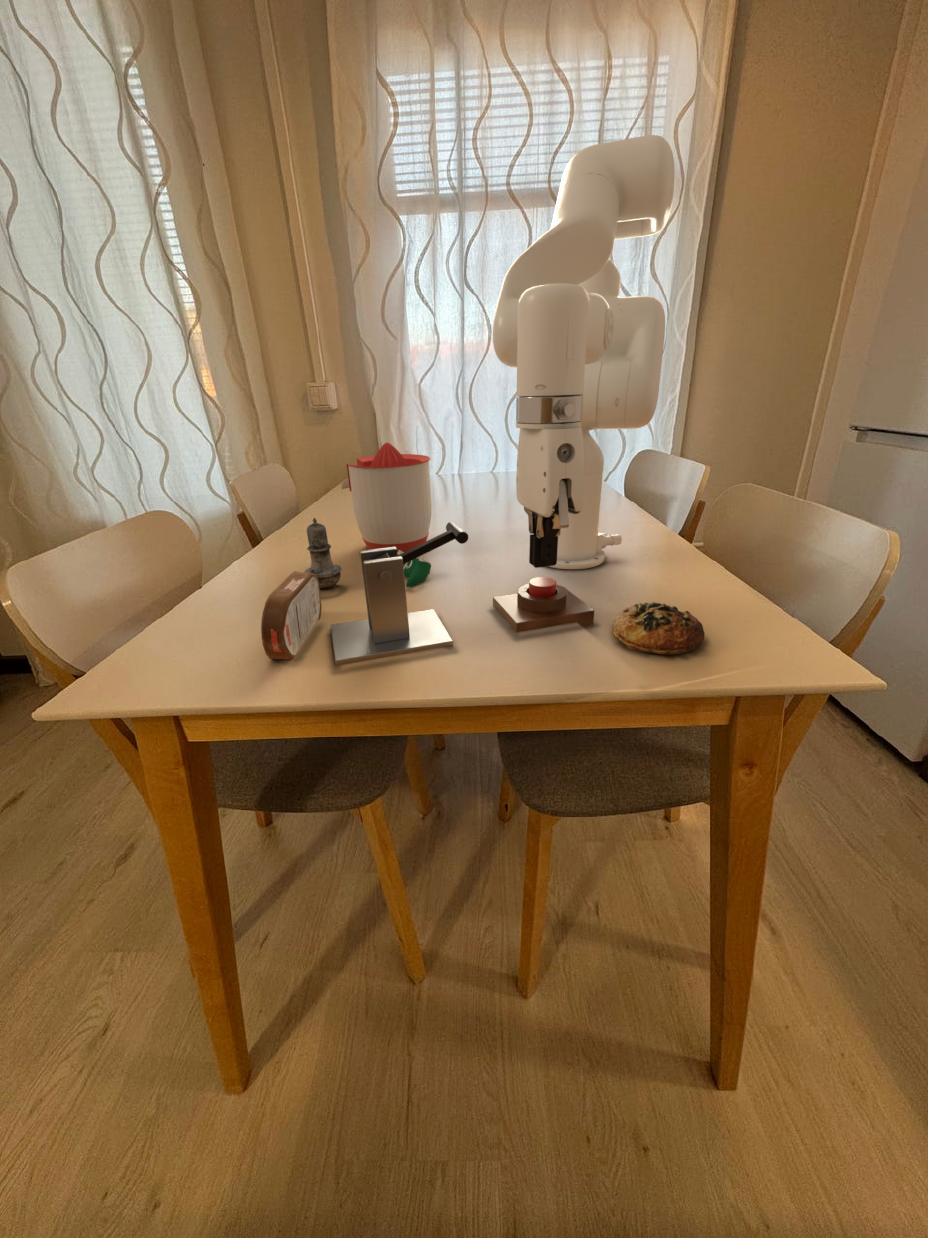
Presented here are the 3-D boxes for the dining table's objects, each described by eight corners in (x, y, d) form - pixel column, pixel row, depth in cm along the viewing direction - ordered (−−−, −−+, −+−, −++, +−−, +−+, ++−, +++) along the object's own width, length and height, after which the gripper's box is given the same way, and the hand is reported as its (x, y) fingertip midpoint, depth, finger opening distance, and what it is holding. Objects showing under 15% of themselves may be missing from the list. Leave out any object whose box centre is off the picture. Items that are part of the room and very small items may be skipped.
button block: (562, 600, 74) (564, 574, 73) (593, 625, 67) (595, 597, 65) (492, 611, 72) (492, 585, 70) (516, 638, 64) (516, 610, 62)
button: (548, 587, 70) (549, 575, 69) (560, 596, 66) (561, 584, 66) (524, 590, 69) (524, 578, 68) (535, 600, 66) (535, 588, 65)
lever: (459, 533, 63) (452, 516, 62) (471, 543, 59) (464, 525, 58) (373, 575, 62) (364, 559, 61) (378, 589, 58) (369, 572, 57)
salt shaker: (335, 599, 77) (323, 523, 72) (300, 597, 78) (286, 522, 73) (350, 585, 82) (340, 513, 77) (318, 583, 84) (305, 512, 78)
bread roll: (724, 650, 59) (726, 612, 57) (635, 672, 58) (633, 634, 56) (673, 615, 69) (673, 581, 67) (597, 633, 68) (594, 599, 66)
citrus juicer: (363, 535, 109) (351, 438, 101) (441, 535, 107) (436, 436, 98) (337, 558, 96) (321, 448, 87) (426, 559, 93) (418, 446, 84)
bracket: (434, 618, 70) (428, 536, 65) (453, 651, 61) (448, 560, 56) (332, 634, 67) (318, 549, 61) (337, 672, 58) (321, 576, 53)
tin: (307, 617, 72) (296, 562, 68) (328, 617, 71) (319, 561, 68) (266, 673, 58) (250, 607, 54) (293, 673, 58) (279, 607, 54)
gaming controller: (422, 598, 81) (440, 566, 82) (408, 587, 78) (427, 555, 79) (386, 585, 87) (403, 556, 88) (372, 575, 84) (389, 544, 85)
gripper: (612, 414, 52) (598, 579, 60) (550, 409, 65) (544, 546, 73) (546, 417, 50) (540, 588, 58) (496, 412, 63) (496, 552, 71)
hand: (542, 564), depth 65 cm, fingers closed
